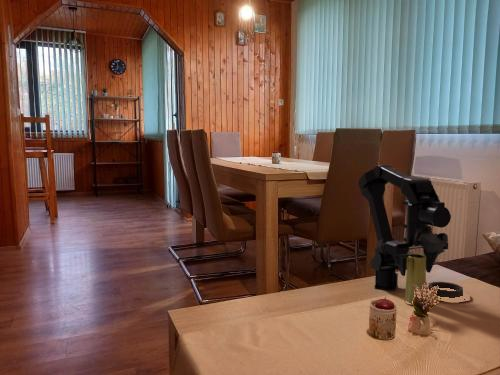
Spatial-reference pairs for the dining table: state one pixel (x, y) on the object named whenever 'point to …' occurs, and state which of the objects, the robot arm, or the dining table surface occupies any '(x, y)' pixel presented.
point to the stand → (444, 292)
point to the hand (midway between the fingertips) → (415, 274)
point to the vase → (415, 274)
